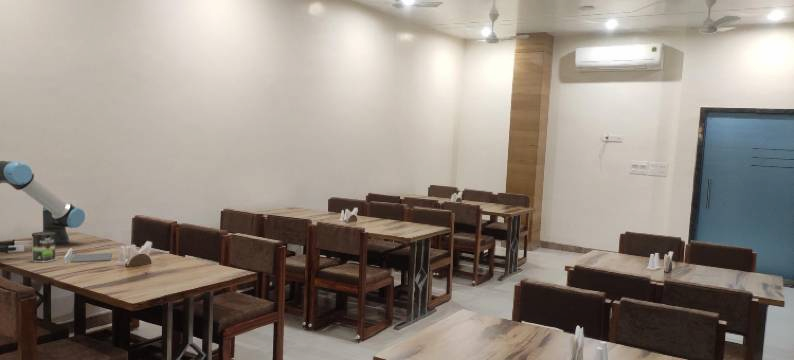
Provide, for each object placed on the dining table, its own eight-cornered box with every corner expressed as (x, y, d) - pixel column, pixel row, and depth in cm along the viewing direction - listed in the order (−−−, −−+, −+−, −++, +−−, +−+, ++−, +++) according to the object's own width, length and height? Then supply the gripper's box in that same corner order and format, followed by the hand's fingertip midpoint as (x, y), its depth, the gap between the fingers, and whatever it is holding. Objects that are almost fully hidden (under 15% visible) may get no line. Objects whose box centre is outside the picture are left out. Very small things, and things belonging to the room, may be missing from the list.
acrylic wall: (70, 254, 314) (70, 248, 313) (72, 254, 314) (72, 248, 314) (64, 264, 292) (64, 257, 291) (66, 264, 292) (66, 257, 292)
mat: (74, 255, 312) (74, 254, 312) (111, 254, 319) (111, 253, 319) (70, 262, 295) (70, 261, 295) (109, 260, 302) (109, 259, 302)
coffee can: (58, 260, 299) (58, 233, 298) (37, 263, 291) (36, 235, 290) (50, 257, 306) (50, 230, 305) (28, 260, 297) (28, 233, 296)
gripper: (-17, 250, 298) (31, 248, 306) (-31, 260, 275) (21, 258, 283) (-17, 235, 298) (31, 234, 306) (-31, 244, 275) (21, 242, 283)
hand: (26, 245), depth 295 cm, fingers open, 13 cm apart
